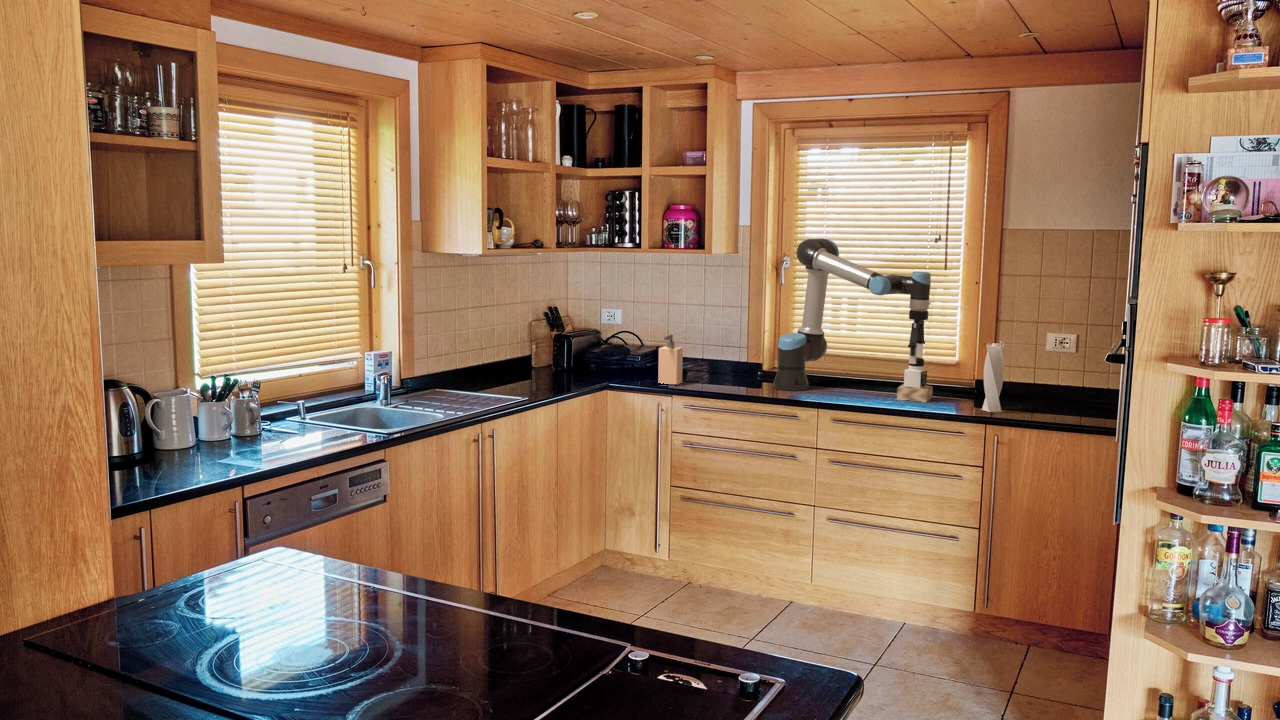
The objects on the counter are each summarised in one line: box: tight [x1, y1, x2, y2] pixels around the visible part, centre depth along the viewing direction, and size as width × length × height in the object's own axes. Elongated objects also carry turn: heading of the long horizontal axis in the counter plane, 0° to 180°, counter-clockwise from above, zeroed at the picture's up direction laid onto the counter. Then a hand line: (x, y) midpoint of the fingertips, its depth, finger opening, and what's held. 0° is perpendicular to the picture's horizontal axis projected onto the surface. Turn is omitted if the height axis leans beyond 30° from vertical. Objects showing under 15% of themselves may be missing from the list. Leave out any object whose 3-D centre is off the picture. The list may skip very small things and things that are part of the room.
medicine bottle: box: [903, 357, 928, 388], centre depth 411 cm, size 7×7×12 cm
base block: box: [896, 383, 934, 403], centre depth 412 cm, size 12×12×5 cm
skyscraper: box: [979, 340, 1006, 413], centre depth 384 cm, size 8×8×28 cm
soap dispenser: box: [657, 334, 684, 384], centre depth 440 cm, size 13×9×22 cm
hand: (915, 361), depth 410 cm, fingers open, 13 cm apart
